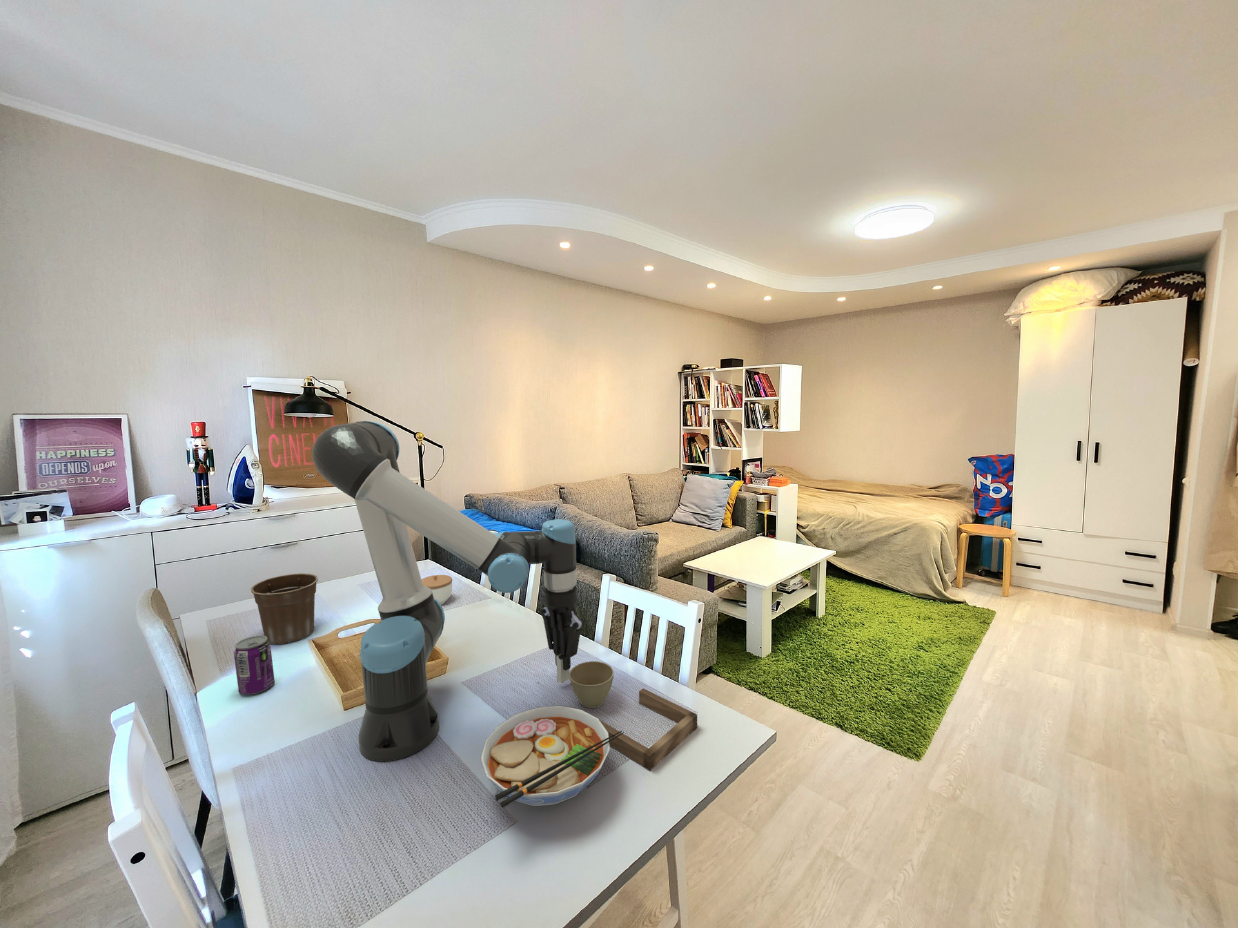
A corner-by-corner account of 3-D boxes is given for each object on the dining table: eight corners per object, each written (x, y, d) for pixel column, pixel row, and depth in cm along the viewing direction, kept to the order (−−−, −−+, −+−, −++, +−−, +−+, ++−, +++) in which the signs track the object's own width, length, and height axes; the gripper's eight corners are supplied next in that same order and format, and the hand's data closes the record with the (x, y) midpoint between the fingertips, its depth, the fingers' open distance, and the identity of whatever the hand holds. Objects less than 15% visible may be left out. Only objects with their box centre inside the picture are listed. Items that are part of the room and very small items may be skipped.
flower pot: (593, 683, 121) (593, 656, 120) (623, 701, 114) (622, 672, 113) (561, 701, 114) (560, 672, 113) (590, 721, 107) (589, 690, 106)
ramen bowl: (571, 721, 108) (570, 686, 106) (641, 785, 90) (641, 743, 89) (456, 777, 92) (454, 737, 91) (514, 868, 74) (512, 819, 73)
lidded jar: (430, 595, 176) (428, 569, 175) (458, 596, 175) (457, 570, 173) (413, 607, 166) (411, 580, 164) (444, 609, 164) (442, 582, 163)
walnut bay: (649, 770, 93) (649, 756, 93) (594, 736, 103) (593, 722, 102) (697, 727, 105) (697, 714, 105) (643, 700, 115) (643, 688, 114)
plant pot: (333, 621, 156) (328, 572, 154) (303, 648, 140) (297, 593, 138) (280, 623, 156) (274, 573, 153) (243, 649, 140) (236, 594, 137)
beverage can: (278, 687, 121) (273, 641, 120) (242, 700, 116) (236, 652, 114) (270, 676, 126) (265, 631, 124) (235, 688, 121) (229, 642, 119)
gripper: (591, 588, 116) (593, 683, 119) (554, 575, 124) (557, 664, 128) (567, 598, 110) (570, 697, 113) (530, 584, 119) (533, 676, 122)
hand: (563, 679), depth 121 cm, fingers closed
